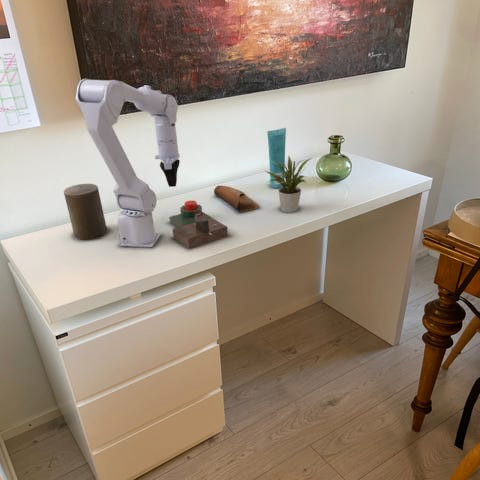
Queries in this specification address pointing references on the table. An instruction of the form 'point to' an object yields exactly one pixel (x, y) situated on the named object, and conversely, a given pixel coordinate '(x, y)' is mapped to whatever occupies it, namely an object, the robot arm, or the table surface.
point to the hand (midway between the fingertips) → (172, 185)
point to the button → (190, 205)
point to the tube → (276, 153)
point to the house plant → (289, 186)
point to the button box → (186, 216)
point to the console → (199, 233)
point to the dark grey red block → (201, 223)
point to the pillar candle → (85, 211)
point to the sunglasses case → (235, 198)
